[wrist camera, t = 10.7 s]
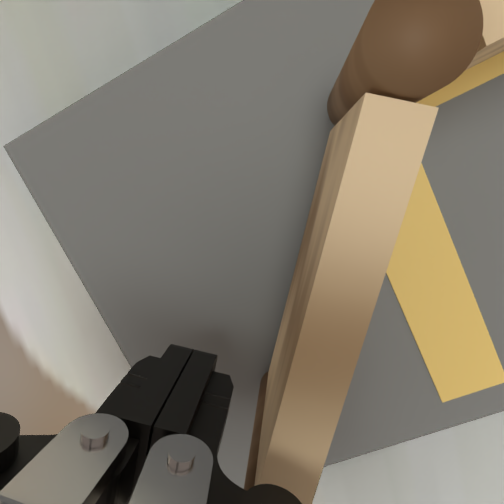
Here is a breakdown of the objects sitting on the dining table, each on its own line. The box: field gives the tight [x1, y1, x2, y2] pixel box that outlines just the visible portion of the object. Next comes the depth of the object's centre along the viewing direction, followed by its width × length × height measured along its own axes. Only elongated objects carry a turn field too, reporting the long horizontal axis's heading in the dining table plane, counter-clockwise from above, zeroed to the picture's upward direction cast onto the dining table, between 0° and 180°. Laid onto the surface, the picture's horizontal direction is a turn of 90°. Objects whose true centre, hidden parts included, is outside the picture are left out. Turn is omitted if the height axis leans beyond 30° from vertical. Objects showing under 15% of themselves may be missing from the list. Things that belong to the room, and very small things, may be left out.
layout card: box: [4, 0, 504, 489], centre depth 13 cm, size 24×17×1 cm
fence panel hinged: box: [244, 93, 439, 504], centre depth 10 cm, size 10×2×6 cm, turn 168°
